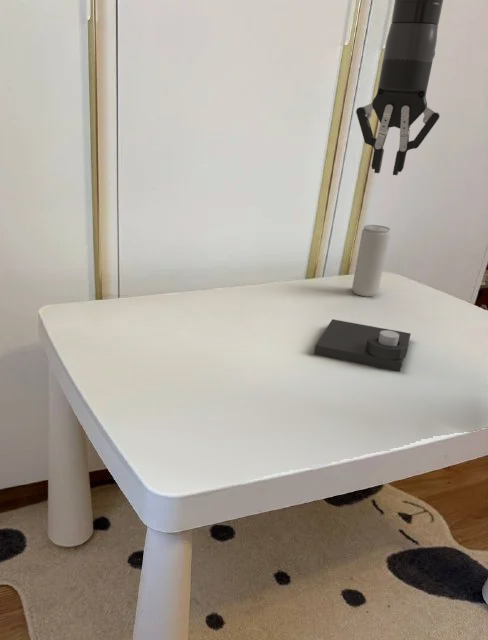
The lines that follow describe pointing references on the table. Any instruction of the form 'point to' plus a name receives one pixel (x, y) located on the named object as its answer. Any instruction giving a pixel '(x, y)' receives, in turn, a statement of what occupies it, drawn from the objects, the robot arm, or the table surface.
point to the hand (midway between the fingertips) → (386, 173)
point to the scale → (361, 345)
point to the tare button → (388, 338)
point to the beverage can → (370, 260)
